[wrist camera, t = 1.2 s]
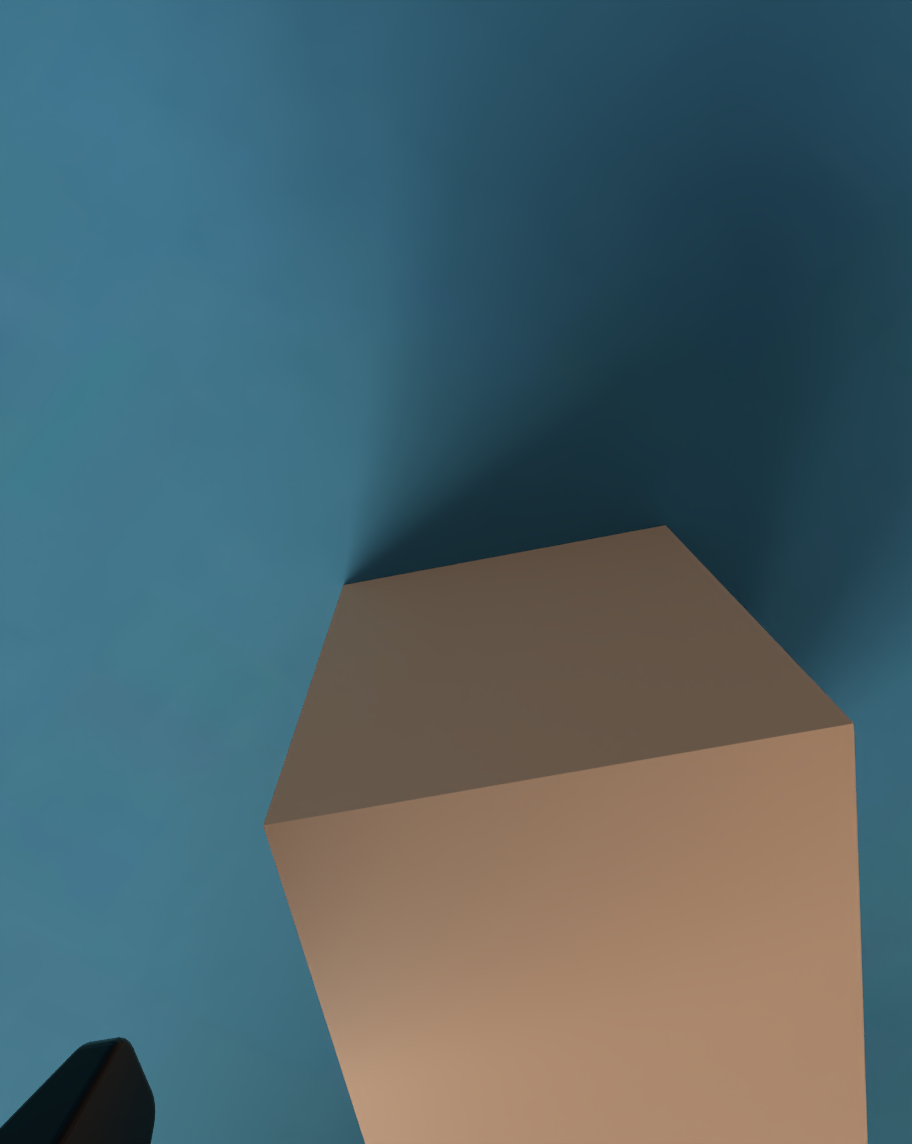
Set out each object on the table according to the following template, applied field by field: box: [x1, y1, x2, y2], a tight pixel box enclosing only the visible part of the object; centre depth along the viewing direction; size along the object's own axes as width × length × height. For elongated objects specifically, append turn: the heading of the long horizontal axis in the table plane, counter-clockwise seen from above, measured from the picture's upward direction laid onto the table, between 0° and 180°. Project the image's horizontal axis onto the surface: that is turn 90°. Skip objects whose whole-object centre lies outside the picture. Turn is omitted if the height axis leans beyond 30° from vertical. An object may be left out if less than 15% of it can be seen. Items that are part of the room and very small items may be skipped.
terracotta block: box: [263, 525, 868, 1144], centre depth 10 cm, size 5×5×6 cm
